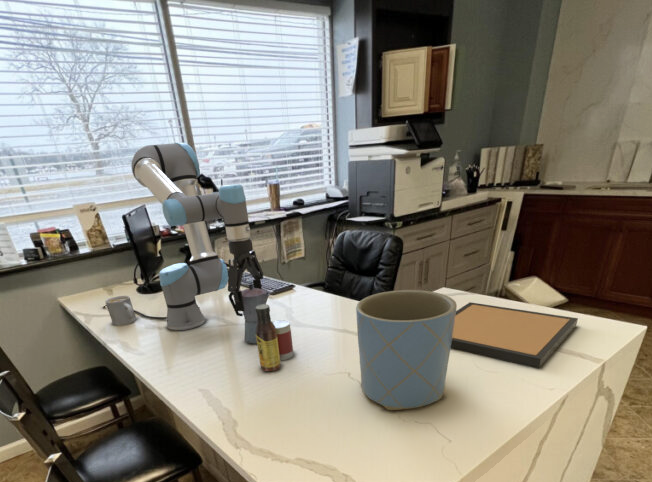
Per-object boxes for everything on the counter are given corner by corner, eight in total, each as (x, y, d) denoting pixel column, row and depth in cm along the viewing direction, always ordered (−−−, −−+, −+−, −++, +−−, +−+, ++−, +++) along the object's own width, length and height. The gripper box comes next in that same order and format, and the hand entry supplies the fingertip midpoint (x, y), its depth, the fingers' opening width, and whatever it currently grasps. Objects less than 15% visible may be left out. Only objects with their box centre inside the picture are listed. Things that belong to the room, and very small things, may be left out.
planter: (466, 401, 100) (478, 309, 88) (381, 423, 96) (382, 329, 83) (418, 364, 119) (423, 284, 107) (345, 381, 115) (342, 299, 102)
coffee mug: (109, 322, 181) (101, 300, 175) (131, 315, 186) (124, 294, 181) (121, 328, 172) (113, 305, 167) (143, 321, 177) (136, 299, 172)
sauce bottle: (261, 364, 129) (251, 303, 119) (280, 362, 129) (272, 301, 119) (261, 374, 123) (250, 310, 113) (281, 371, 123) (273, 308, 113)
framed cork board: (538, 368, 111) (575, 326, 132) (541, 358, 109) (578, 318, 130) (421, 341, 133) (468, 309, 154) (421, 333, 131) (469, 302, 152)
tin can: (269, 359, 132) (264, 327, 126) (278, 350, 137) (273, 319, 131) (288, 361, 129) (284, 328, 124) (296, 352, 135) (293, 320, 129)
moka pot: (272, 344, 142) (264, 287, 132) (231, 344, 145) (220, 289, 135) (279, 334, 150) (272, 279, 140) (240, 334, 153) (230, 281, 143)
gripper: (229, 247, 119) (241, 317, 130) (267, 231, 138) (275, 293, 149) (207, 247, 122) (221, 316, 132) (248, 232, 141) (257, 293, 152)
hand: (250, 304), depth 141 cm, fingers open, 13 cm apart
